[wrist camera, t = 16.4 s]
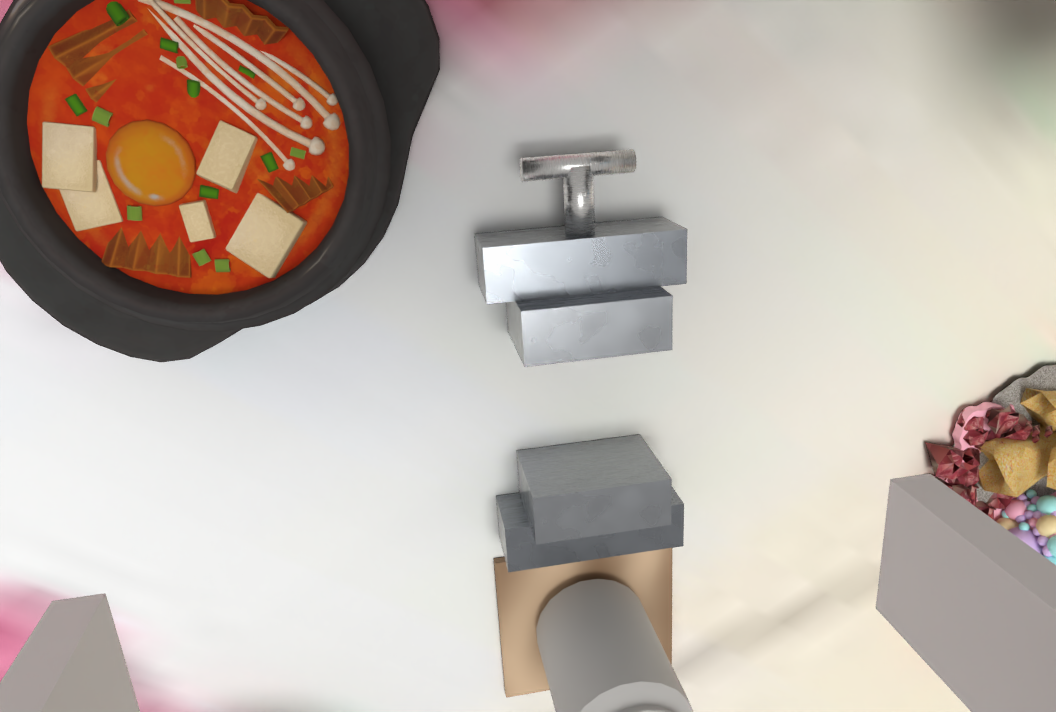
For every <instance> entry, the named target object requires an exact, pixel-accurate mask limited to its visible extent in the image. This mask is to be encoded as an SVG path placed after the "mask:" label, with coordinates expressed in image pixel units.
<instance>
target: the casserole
mask: <svg viewBox="0 0 1056 712" xmlns="http://www.w3.org/2000/svg"><path fill="white" fill-rule="evenodd" d="M439 70H440V66H439V36H438V33H437V30H436V27H435V24H434V21H433V18H432V15H431V12H430V9H429V6H428V4H427V3H426V1H425V0H13V2H12V4H11V6H10V7H9V9H8V11H7V12H6V14H5V16H4V18H3V19H2V21H1V23H0V261H1V263H2V265H3V266H4V268H5V270H6V271H7V273H8V274H9V275H10V276H11V277H12V278H13V279H14V281H15V282H16V283H17V284H18V285H19V286H20V287H21V288H22V290H23V291H24V292H25V293H26V294H27V295H28V296H29V297H30V298H31V300H32V301H34V302H35V303H36V304H37V305H39V306H40V307H41V308H42V309H44V310H45V311H46V312H47V313H49V314H50V315H51V316H52V317H53V318H55V319H56V320H57V321H58V322H60V323H61V324H62V325H64V326H65V327H67V328H69V329H71V330H72V331H74V332H76V333H78V334H80V335H81V336H83V337H85V338H87V339H88V340H90V341H92V342H94V343H96V344H98V345H100V346H103V347H106V348H108V349H111V350H114V351H116V352H119V353H122V354H125V355H127V356H130V357H135V358H140V359H146V360H152V361H157V362H167V361H175V360H183V359H190V358H192V357H194V356H196V355H198V354H199V353H201V352H203V351H205V350H207V349H209V348H211V347H213V346H215V345H216V344H218V343H220V342H221V341H223V340H225V339H226V338H228V337H230V336H231V335H233V334H235V333H236V332H238V331H240V330H241V329H243V328H248V327H255V326H261V325H264V324H266V323H269V322H272V321H275V320H277V319H280V318H283V317H286V316H288V315H291V314H294V313H296V312H297V311H299V310H301V309H302V308H304V307H305V306H307V305H309V304H311V303H313V302H314V301H316V300H318V299H319V298H321V297H323V296H324V295H326V294H328V293H329V292H331V291H333V290H334V289H336V288H338V287H339V286H340V285H341V284H343V283H344V282H345V281H346V280H347V279H348V278H349V277H350V276H351V275H352V274H353V273H355V272H356V271H357V270H358V269H359V268H360V267H361V266H362V265H363V264H364V263H365V262H366V260H367V259H368V258H369V256H370V255H371V253H372V252H373V251H374V249H375V248H376V246H377V245H378V244H379V242H380V241H381V240H382V238H383V237H384V235H385V233H386V230H387V228H388V226H389V224H390V222H391V219H392V217H393V215H394V213H395V210H396V208H397V206H398V203H399V198H400V193H401V189H402V184H403V179H404V175H405V170H406V165H407V160H408V155H409V151H410V146H411V141H412V136H413V133H414V131H415V128H416V126H417V124H418V121H419V119H420V116H421V114H422V111H423V109H424V106H425V104H426V102H427V99H428V97H429V94H430V92H431V89H432V87H433V85H434V82H435V80H436V77H437V75H438V72H439Z"/></svg>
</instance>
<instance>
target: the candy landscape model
mask: <svg viewBox="0 0 1056 712" xmlns="http://www.w3.org/2000/svg"><path fill="white" fill-rule="evenodd" d="M952 437H953V439H954V445H953V446H952V447H950V446H944V445H939V444H933V443H927V442H925V443H926V447H927V450H928V453H929V457H930V460H931V463H932V466H933V470H934V473H935V476H934V477H935V478H937V479H938V480H939V481H941V482H942V483H944V484H945V485H946V486H948V487H949V488H950V489H952V490H953V491H955V492H956V493H957V494H959V495H960V496H961V497H963V498H964V499H966V500H967V501H968V502H970V503H971V504H972V505H974V506H975V507H977V508H978V509H979V510H981V511H982V512H983V513H985V514H986V515H988V516H989V517H990V518H992V519H993V520H994V521H996V522H997V523H999V524H1000V525H1001V526H1003V527H1004V528H1005V529H1007V530H1008V531H1010V532H1011V533H1012V534H1014V535H1015V536H1016V537H1018V538H1019V539H1021V540H1022V541H1023V542H1025V543H1026V544H1027V545H1029V546H1030V547H1032V548H1033V549H1034V550H1036V551H1037V552H1038V553H1040V554H1041V555H1043V556H1044V557H1045V558H1047V559H1048V560H1049V561H1051V562H1052V563H1054V564H1055V565H1056V365H1053V366H1052V365H1045V366H1043V367H1041V368H1040V369H1038V370H1037V371H1036V372H1035V373H1033V374H1032V375H1031V376H1029V377H1027V378H1018V379H1017V380H1015V381H1014V382H1013V383H1011V384H1010V385H1009V386H1008V387H1007V388H1005V389H1004V390H1002V391H1001V392H999V393H998V394H997V395H996V396H995V397H994V398H993V401H992V402H983V403H981V404H979V405H978V406H968V407H966V408H965V409H963V410H962V412H961V413H960V415H959V417H958V420H957V422H956V425H955V429H954V431H953V434H952Z"/></svg>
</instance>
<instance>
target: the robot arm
mask: <svg viewBox="0 0 1056 712" xmlns="http://www.w3.org/2000/svg"><path fill="white" fill-rule="evenodd" d="M876 609H877V610H878V611H879V612H880V613H881V614H882V615H883V617H884V618H885V619H886V620H887V621H888V622H889V623H890V624H891V625H892V626H893V627H894V628H895V630H896V631H897V632H898V633H899V634H900V635H901V636H902V637H903V638H904V639H905V640H906V641H907V643H908V644H909V645H910V646H911V647H912V648H913V649H914V650H915V651H916V652H917V653H918V654H919V655H920V657H921V658H922V659H923V660H924V661H925V662H926V663H927V664H928V665H929V666H930V667H931V668H932V670H933V671H934V672H935V673H936V674H937V675H938V676H939V677H940V678H941V679H942V680H943V681H944V683H945V684H946V685H947V686H948V687H949V688H950V689H951V690H952V691H953V692H954V693H955V694H956V696H957V697H958V698H959V699H960V700H961V701H962V702H963V703H964V704H965V705H966V706H967V707H968V709H969V710H970V711H971V712H1056V565H1055V564H1054V563H1052V562H1051V561H1049V560H1048V559H1047V558H1045V557H1044V556H1043V555H1041V554H1040V553H1038V552H1037V551H1036V550H1034V549H1033V548H1032V547H1030V546H1029V545H1027V544H1026V543H1025V542H1023V541H1022V540H1021V539H1019V538H1018V537H1016V536H1015V535H1014V534H1012V533H1011V532H1010V531H1008V530H1007V529H1005V528H1004V527H1003V526H1001V525H1000V524H999V523H997V522H996V521H994V520H993V519H992V518H990V517H989V516H988V515H986V514H985V513H983V512H982V511H981V510H979V509H978V508H977V507H975V506H974V505H972V504H971V503H970V502H968V501H967V500H966V499H964V498H963V497H961V496H960V495H959V494H957V493H956V492H955V491H953V490H952V489H950V488H949V487H948V486H946V485H945V484H944V483H942V482H941V481H939V480H938V479H937V478H935V477H934V476H933V475H931V474H923V475H916V476H909V477H903V478H896V479H890V486H889V495H888V504H887V513H886V522H885V531H884V539H883V548H882V557H881V566H880V575H879V584H878V592H877V601H876ZM0 712H140V710H139V706H138V703H137V699H136V696H135V693H134V689H133V686H132V682H131V679H130V676H129V672H128V669H127V665H126V662H125V659H124V655H123V652H122V648H121V645H120V641H119V638H118V635H117V631H116V628H115V624H114V621H113V618H112V614H111V611H110V607H109V604H108V601H107V597H106V594H98V595H91V596H84V597H77V598H70V599H63V600H57V601H52V602H51V604H50V605H49V607H48V609H47V610H46V612H45V613H44V615H43V616H42V618H41V619H40V621H39V623H38V624H37V626H36V627H35V629H34V630H33V632H32V634H31V635H30V637H29V638H28V640H27V641H26V643H25V644H24V646H23V648H22V649H21V651H20V652H19V654H18V655H17V657H16V658H15V660H14V662H13V663H12V665H11V666H10V668H9V669H8V671H7V673H6V674H5V676H4V677H3V679H2V680H1V682H0Z"/></svg>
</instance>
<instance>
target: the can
mask: <svg viewBox="0 0 1056 712" xmlns="http://www.w3.org/2000/svg"><path fill="white" fill-rule="evenodd" d="M536 632H537V643H538V647H539V651H540V655H541V658H542V662H543V666H544V670H545V673H546V677H547V681H548V685H549V688H550V692H551V696H552V700H553V703H554V707H555V711H556V712H693V710H692V707H691V705H690V703H689V700H688V698H687V696H686V694H685V692H684V690H683V688H682V686H681V684H680V682H679V680H678V678H677V676H676V674H675V671H674V669H673V667H672V665H671V663H670V661H669V659H668V657H667V655H666V653H665V651H664V649H663V647H662V645H661V643H660V641H659V639H658V636H657V634H656V632H655V630H654V628H653V626H652V624H651V622H650V620H649V618H648V616H647V614H646V612H645V610H644V608H643V606H642V603H641V601H640V599H639V597H638V596H637V595H636V594H635V593H634V592H633V591H632V590H631V589H630V588H629V587H627V586H625V585H623V584H620V583H618V582H616V581H613V580H605V579H592V580H586V581H580V582H578V583H576V584H573V585H571V586H569V587H567V588H564V589H563V590H562V591H560V592H559V593H558V594H557V595H555V596H554V597H553V598H552V599H550V601H549V602H548V604H547V605H546V606H545V608H544V609H543V611H542V612H541V614H540V617H539V620H538V624H537V627H536Z"/></svg>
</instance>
